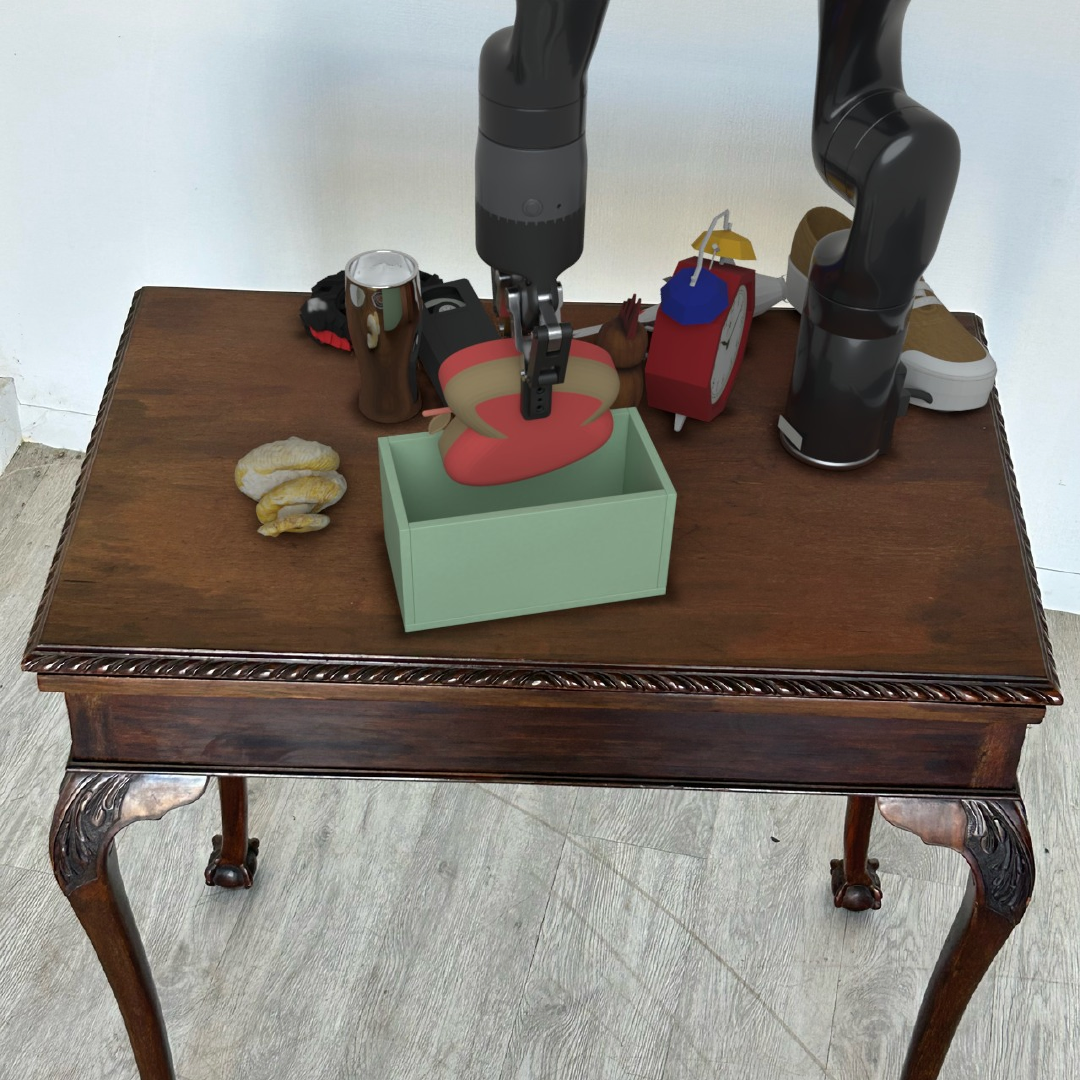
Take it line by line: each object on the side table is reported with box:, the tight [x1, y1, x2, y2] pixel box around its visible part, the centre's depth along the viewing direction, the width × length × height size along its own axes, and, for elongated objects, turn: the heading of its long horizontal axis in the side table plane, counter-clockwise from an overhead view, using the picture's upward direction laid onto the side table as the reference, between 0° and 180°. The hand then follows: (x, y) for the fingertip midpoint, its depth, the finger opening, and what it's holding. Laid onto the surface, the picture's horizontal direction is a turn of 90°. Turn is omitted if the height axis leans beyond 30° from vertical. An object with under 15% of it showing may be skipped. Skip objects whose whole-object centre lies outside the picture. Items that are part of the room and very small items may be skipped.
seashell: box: [233, 435, 348, 538], centre depth 119 cm, size 10×6×15 cm
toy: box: [299, 269, 444, 352], centre depth 142 cm, size 17×16×3 cm
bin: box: [377, 407, 678, 633], centre depth 111 cm, size 22×12×11 cm, turn 103°
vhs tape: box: [418, 277, 502, 408], centre depth 135 cm, size 14×8×2 cm, turn 25°
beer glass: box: [344, 248, 423, 424], centre depth 127 cm, size 7×7×15 cm
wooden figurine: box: [595, 293, 649, 410], centre depth 124 cm, size 7×6×15 cm
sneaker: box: [785, 205, 998, 412], centre depth 137 cm, size 10×29×10 cm, turn 27°
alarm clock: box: [642, 208, 758, 432], centre depth 126 cm, size 15×9×20 cm, turn 157°
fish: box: [572, 257, 791, 339], centre depth 140 cm, size 10×26×10 cm
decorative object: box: [421, 338, 620, 487], centre depth 106 cm, size 14×4×15 cm
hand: (526, 396), depth 103 cm, fingers closed on decorative object, 4 cm apart
